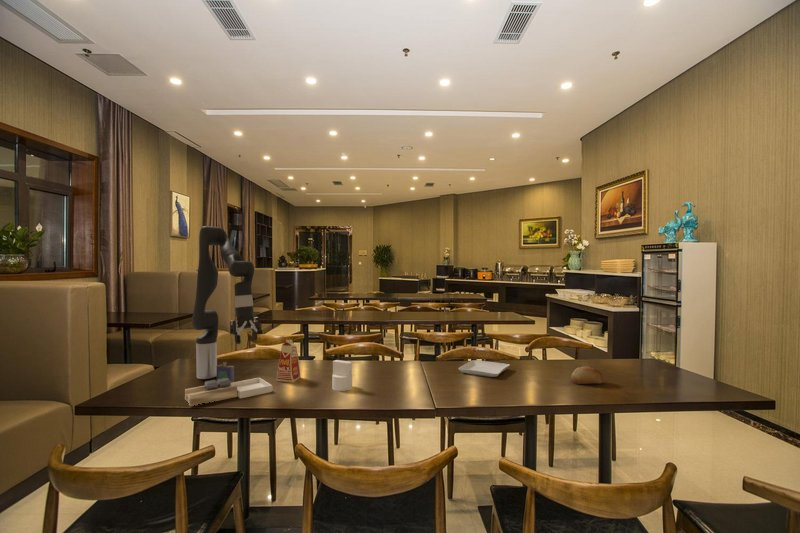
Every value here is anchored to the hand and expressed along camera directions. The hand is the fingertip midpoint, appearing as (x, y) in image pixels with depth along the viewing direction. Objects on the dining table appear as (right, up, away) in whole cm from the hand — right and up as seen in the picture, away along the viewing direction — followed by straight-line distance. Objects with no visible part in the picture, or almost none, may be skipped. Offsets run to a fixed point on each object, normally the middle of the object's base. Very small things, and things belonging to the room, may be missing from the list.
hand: (246, 342), depth 179 cm
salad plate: (+112, -22, +31) cm, 118 cm away
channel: (-11, -22, -9) cm, 26 cm away
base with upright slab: (+42, -22, +5) cm, 47 cm away
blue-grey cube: (-8, -19, -6) cm, 21 cm away
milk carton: (+13, -22, +19) cm, 32 cm away
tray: (+1, -22, +1) cm, 22 cm away
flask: (-14, -22, +10) cm, 28 cm away
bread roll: (+156, -22, +10) cm, 158 cm away
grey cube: (-11, -19, -9) cm, 24 cm away
